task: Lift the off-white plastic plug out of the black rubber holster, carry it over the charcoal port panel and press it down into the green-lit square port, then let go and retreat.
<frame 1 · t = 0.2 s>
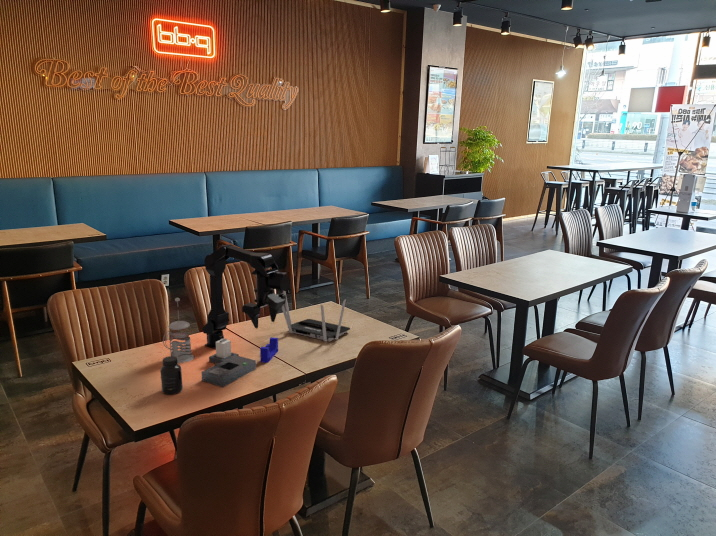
hand: (264, 325, 217), 14 cm above the table, fingers open, 9 cm apart
cable clip: (267, 357, 223), on the table
plug: (223, 350, 217), in the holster
french press: (179, 359, 219), on the table
supplement bottle: (172, 391, 192), on the table
wireless router: (315, 335, 247), on the table
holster: (224, 360, 218), on the table
port panel: (229, 374, 205), on the table
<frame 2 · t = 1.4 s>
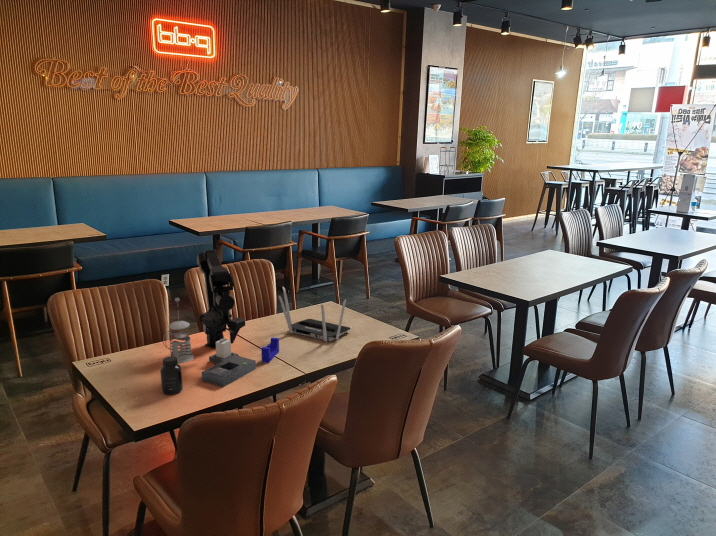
hand: (223, 341, 216), 8 cm above the table, fingers open, 9 cm apart
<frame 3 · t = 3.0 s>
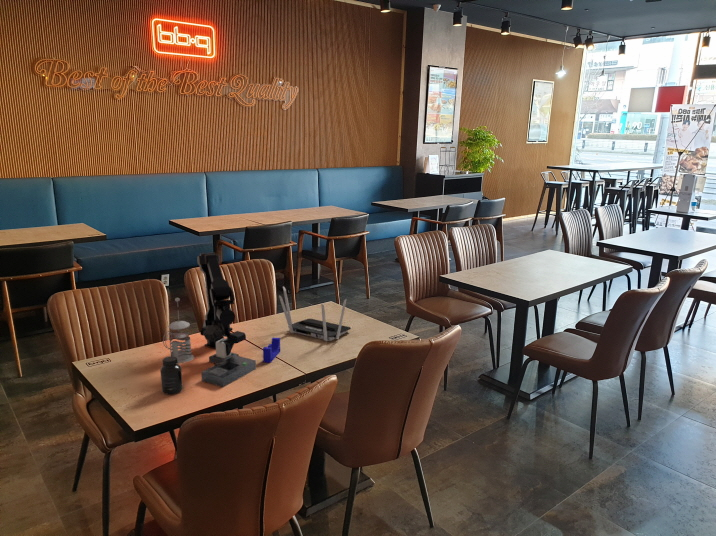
hand: (223, 354, 218), 3 cm above the table, fingers closed on plug, 4 cm apart
plug: (223, 350, 217), in the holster, touching gripper
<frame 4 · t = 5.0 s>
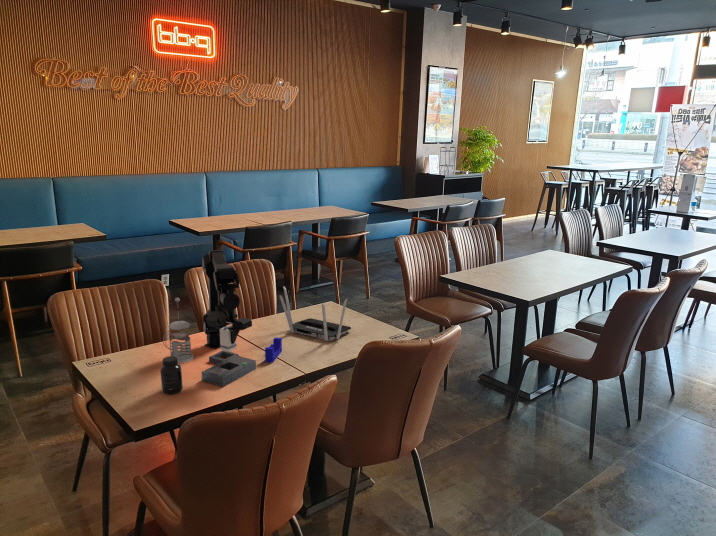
hand: (228, 342, 203), 13 cm above the table, fingers closed on plug, 4 cm apart
plug: (228, 338, 202), point 14 cm above the table, touching gripper
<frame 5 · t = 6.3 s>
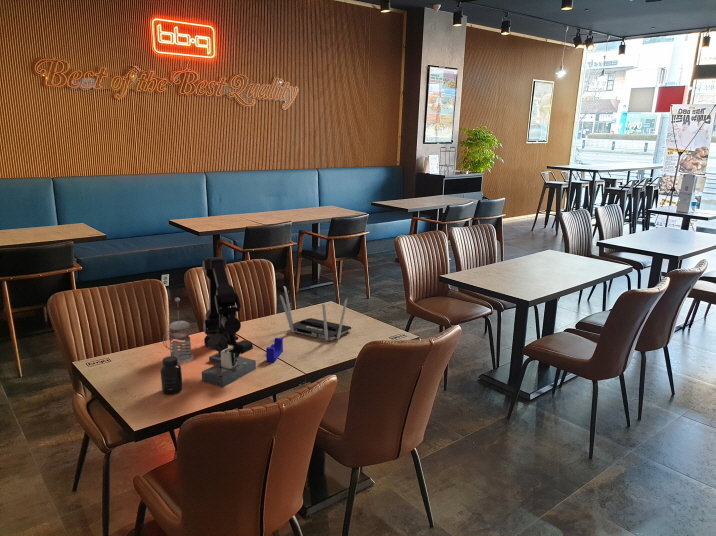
hand: (229, 364, 205), 4 cm above the table, fingers closed on plug, 4 cm apart
plug: (228, 359, 204), point 6 cm above the table, touching gripper
when the fingers open (3 cm above the table, at t = 7.1 s): plug drops 1 cm, resting in port panel.
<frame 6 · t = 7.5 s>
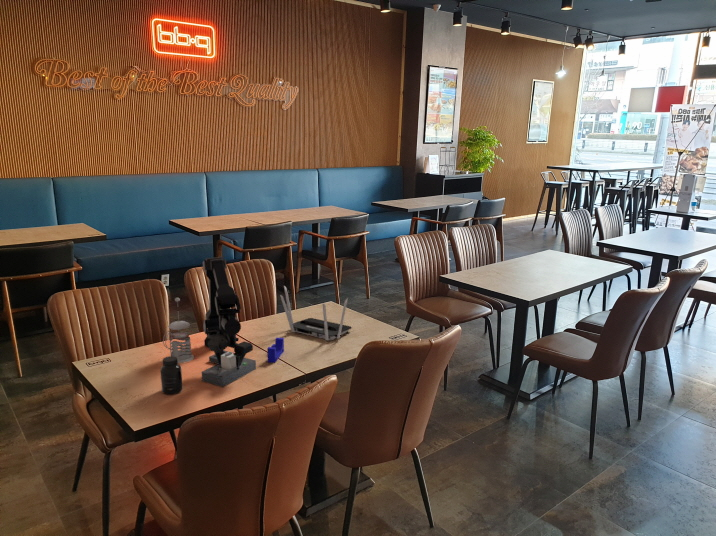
hand: (229, 365, 205), 4 cm above the table, fingers open, 8 cm apart
plug: (229, 364, 204), in the port panel
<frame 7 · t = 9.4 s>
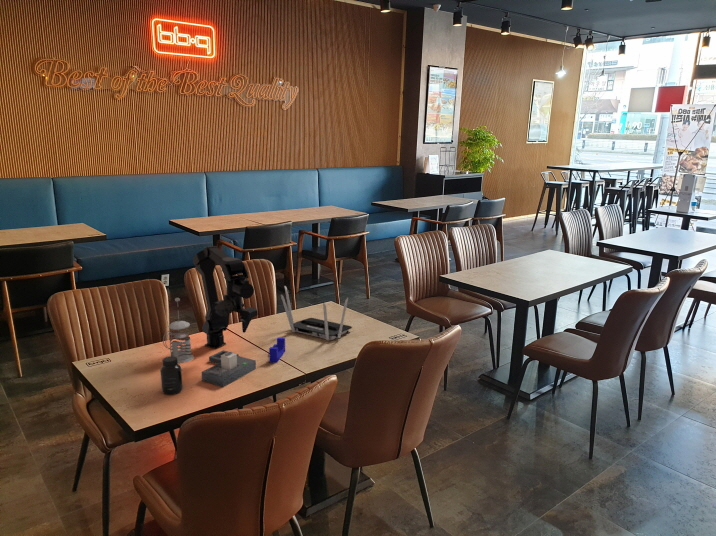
hand: (235, 330, 217), 12 cm above the table, fingers open, 9 cm apart
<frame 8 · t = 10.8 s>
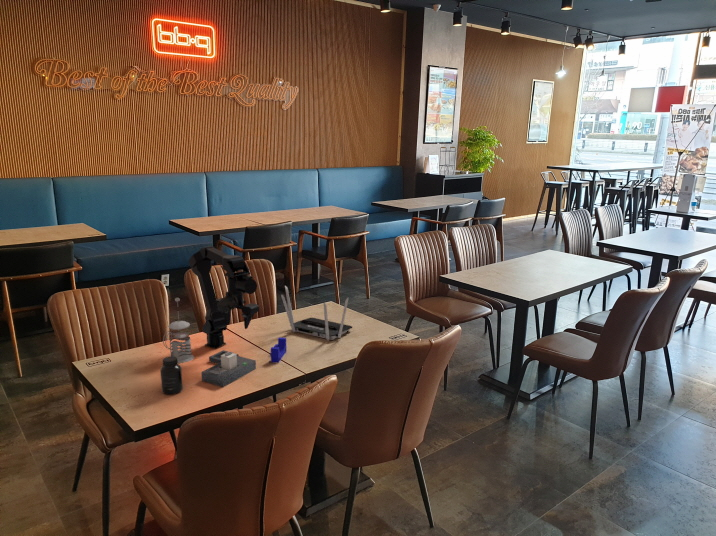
hand: (237, 326, 219), 13 cm above the table, fingers open, 9 cm apart
at the end: plug 0.0 cm off-centre on the port panel, point 4.3 cm above the port panel's base; plug tilted 0°; the gripper is holding nothing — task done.
